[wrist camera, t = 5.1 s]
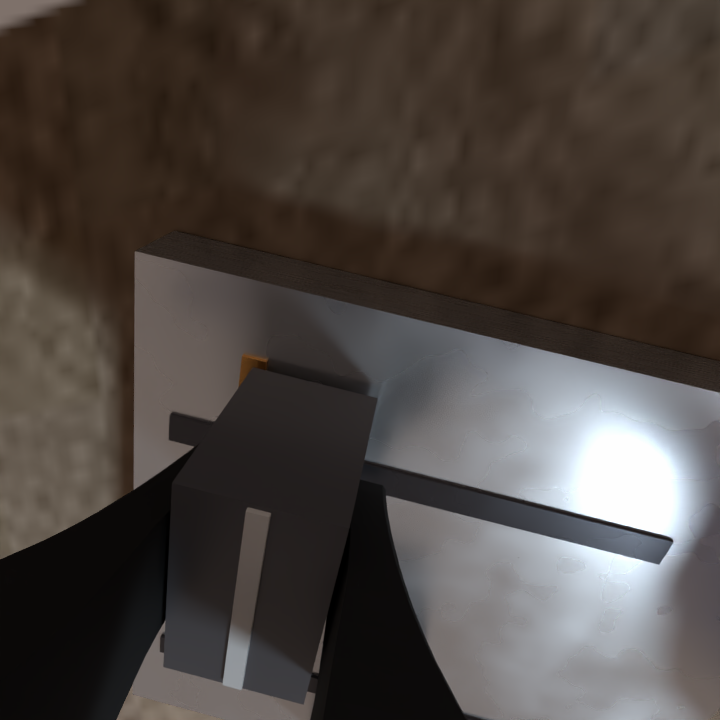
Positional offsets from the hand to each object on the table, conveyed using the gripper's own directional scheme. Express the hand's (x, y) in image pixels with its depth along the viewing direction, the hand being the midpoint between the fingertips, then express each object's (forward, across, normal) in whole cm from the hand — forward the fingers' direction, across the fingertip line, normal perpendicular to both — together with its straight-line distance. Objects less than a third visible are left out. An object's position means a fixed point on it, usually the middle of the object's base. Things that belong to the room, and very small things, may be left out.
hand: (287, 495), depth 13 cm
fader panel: (+3, -4, +4) cm, 7 cm away
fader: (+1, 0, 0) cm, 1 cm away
